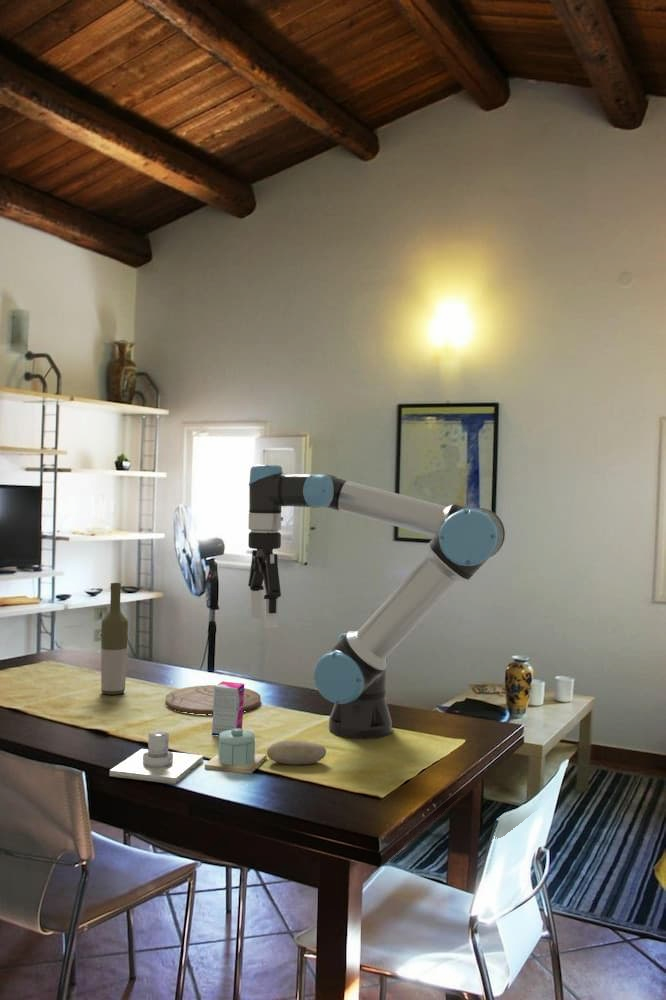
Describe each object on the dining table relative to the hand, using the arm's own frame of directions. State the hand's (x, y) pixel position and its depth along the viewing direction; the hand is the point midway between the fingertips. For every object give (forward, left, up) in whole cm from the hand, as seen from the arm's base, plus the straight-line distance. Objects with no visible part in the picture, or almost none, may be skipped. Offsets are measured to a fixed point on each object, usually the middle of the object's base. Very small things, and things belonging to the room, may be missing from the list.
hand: (263, 622), depth 196 cm
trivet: (+20, -23, -27) cm, 41 cm away
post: (+12, +29, -26) cm, 41 cm away
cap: (-2, +21, -25) cm, 33 cm away
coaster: (-2, +21, -26) cm, 33 cm away
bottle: (+49, -22, -26) cm, 60 cm away
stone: (-14, +17, -27) cm, 34 cm away
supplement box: (+7, +2, -26) cm, 27 cm away
